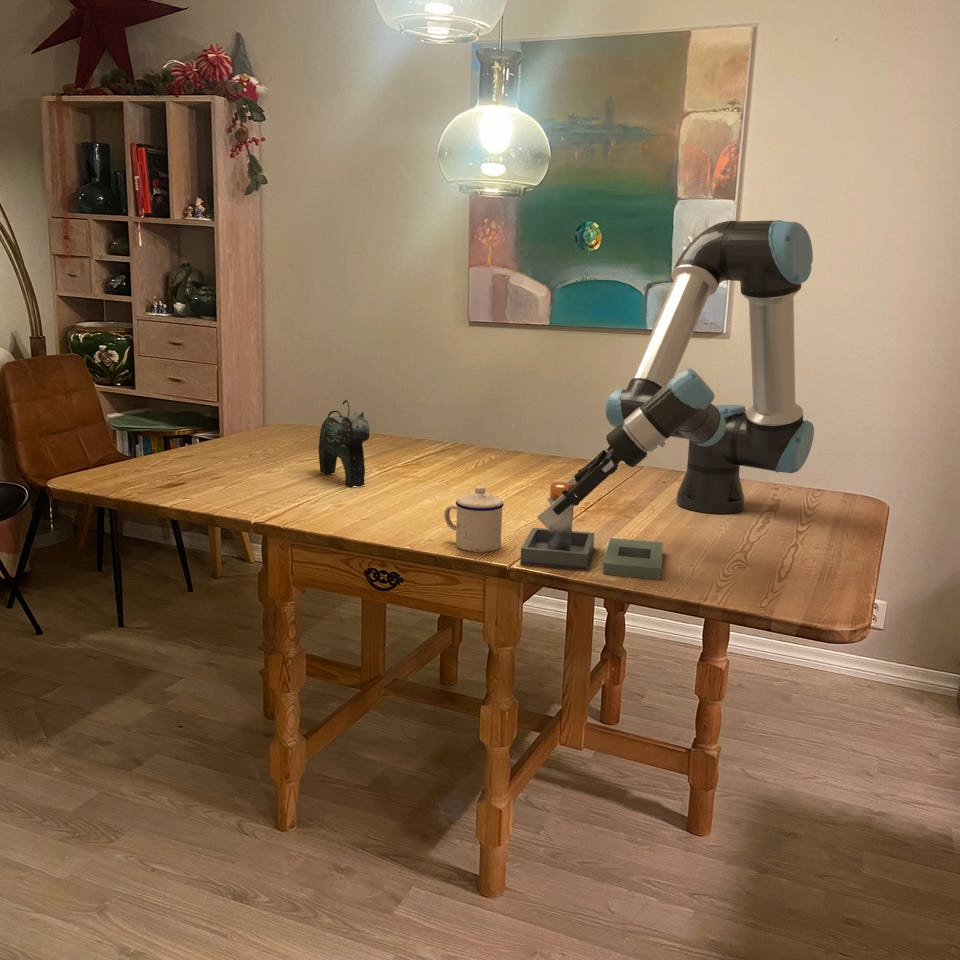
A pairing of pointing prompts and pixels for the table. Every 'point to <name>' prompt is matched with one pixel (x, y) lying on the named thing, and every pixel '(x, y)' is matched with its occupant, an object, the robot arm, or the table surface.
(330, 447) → the ceramic cat
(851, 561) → the table surface
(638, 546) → the green holder base
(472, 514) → the teacup with lid
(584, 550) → the tray
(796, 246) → the robot arm
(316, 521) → the table surface
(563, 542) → the pepper shaker
